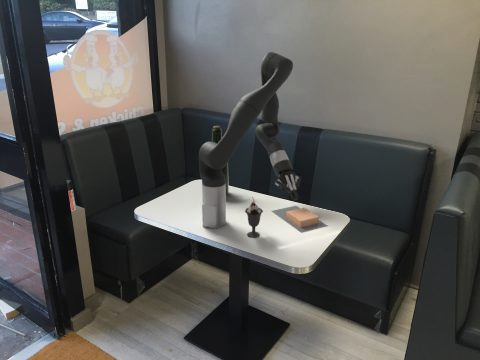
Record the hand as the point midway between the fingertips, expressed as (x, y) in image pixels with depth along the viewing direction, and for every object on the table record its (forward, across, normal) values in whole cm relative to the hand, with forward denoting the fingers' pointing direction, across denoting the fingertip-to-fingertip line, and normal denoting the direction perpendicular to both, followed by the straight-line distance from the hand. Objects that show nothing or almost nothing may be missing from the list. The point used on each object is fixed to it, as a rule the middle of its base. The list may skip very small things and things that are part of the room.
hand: (295, 199), depth 164 cm
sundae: (+10, +24, -1) cm, 26 cm away
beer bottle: (-20, +19, -31) cm, 42 cm away
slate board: (+8, +1, -3) cm, 8 cm away
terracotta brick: (+4, +1, -3) cm, 6 cm away
